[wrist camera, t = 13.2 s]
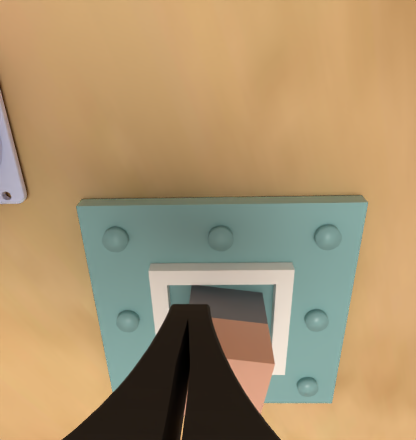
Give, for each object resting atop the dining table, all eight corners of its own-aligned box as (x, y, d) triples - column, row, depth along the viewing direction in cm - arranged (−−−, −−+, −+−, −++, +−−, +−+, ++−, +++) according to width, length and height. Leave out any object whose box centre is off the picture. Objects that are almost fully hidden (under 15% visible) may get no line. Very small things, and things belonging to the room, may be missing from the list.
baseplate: (117, 391, 29) (112, 412, 27) (82, 199, 22) (71, 212, 20) (328, 391, 28) (334, 413, 27) (361, 195, 21) (373, 208, 20)
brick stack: (184, 338, 25) (176, 414, 20) (191, 284, 23) (184, 354, 18) (249, 345, 25) (258, 423, 20) (262, 292, 23) (275, 364, 18)
